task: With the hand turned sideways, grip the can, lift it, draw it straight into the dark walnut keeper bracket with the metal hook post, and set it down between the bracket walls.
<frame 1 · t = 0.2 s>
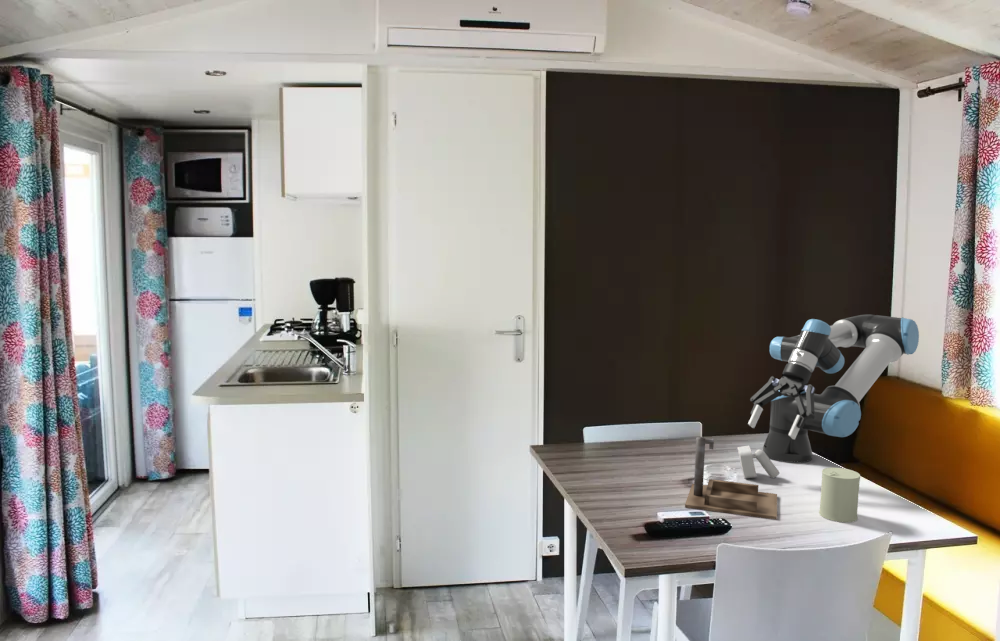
hand: (770, 431, 224), 15 cm above the table, tool tilted 35°, fingers open, 13 cm apart
can: (837, 516, 201), on the table
keeper: (733, 502, 210), on the table
wall hook: (757, 477, 232), on the table
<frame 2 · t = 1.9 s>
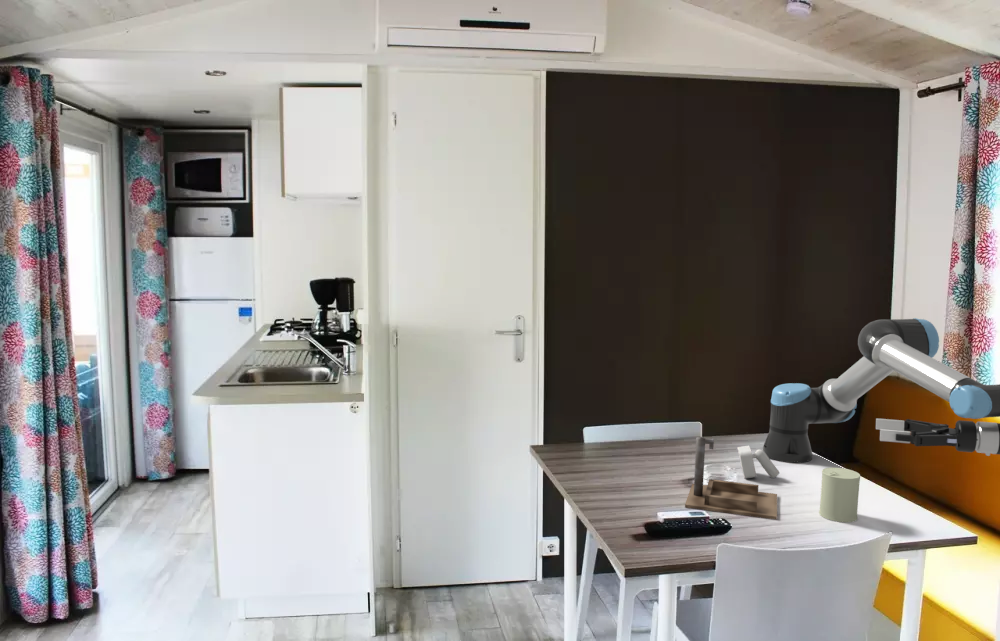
hand: (877, 429, 195), 24 cm above the table, tool horizontal, fingers open, 13 cm apart
nothing on the table moved.
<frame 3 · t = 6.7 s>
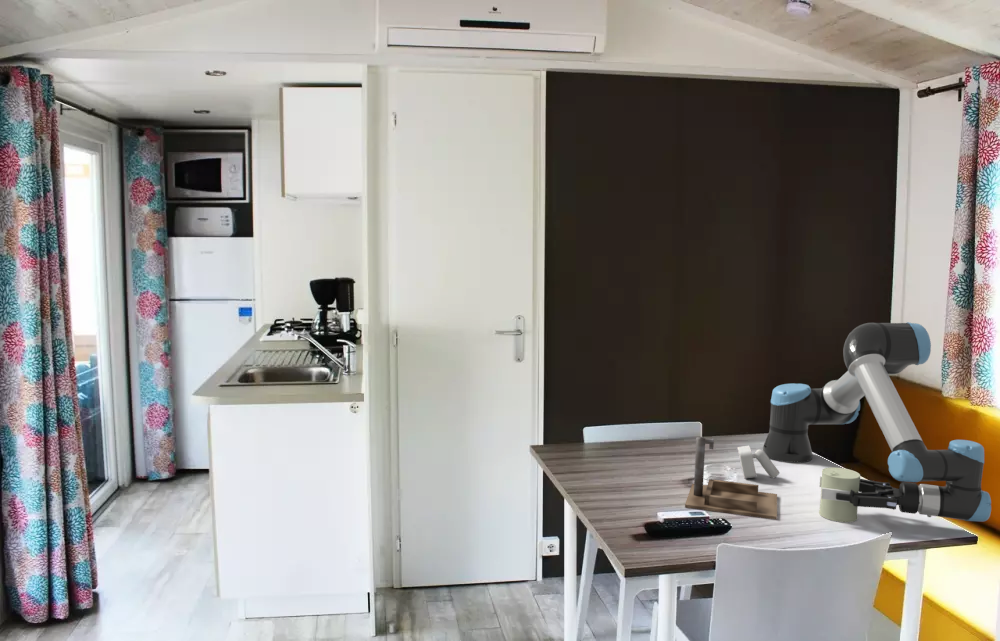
hand: (820, 487, 202), 7 cm above the table, tool horizontal, fingers closed on can, 9 cm apart
can: (837, 516, 201), on the table, touching gripper
everything else where it was.
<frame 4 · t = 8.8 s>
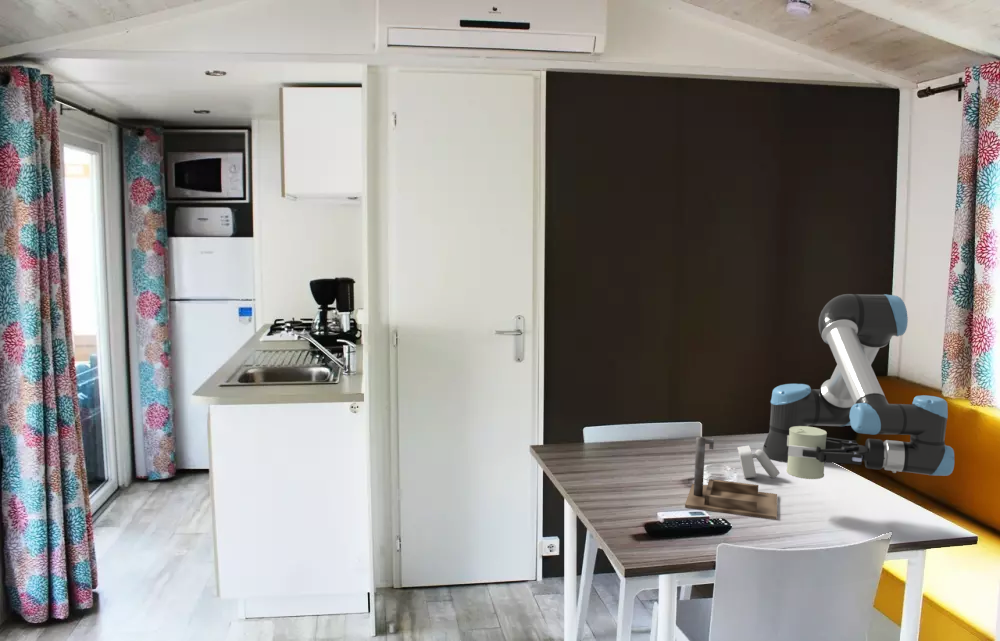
hand: (787, 445, 203), 17 cm above the table, tool horizontal, fingers closed on can, 9 cm apart
can: (805, 474, 202), point 10 cm above the table, touching gripper
everything else where it was.
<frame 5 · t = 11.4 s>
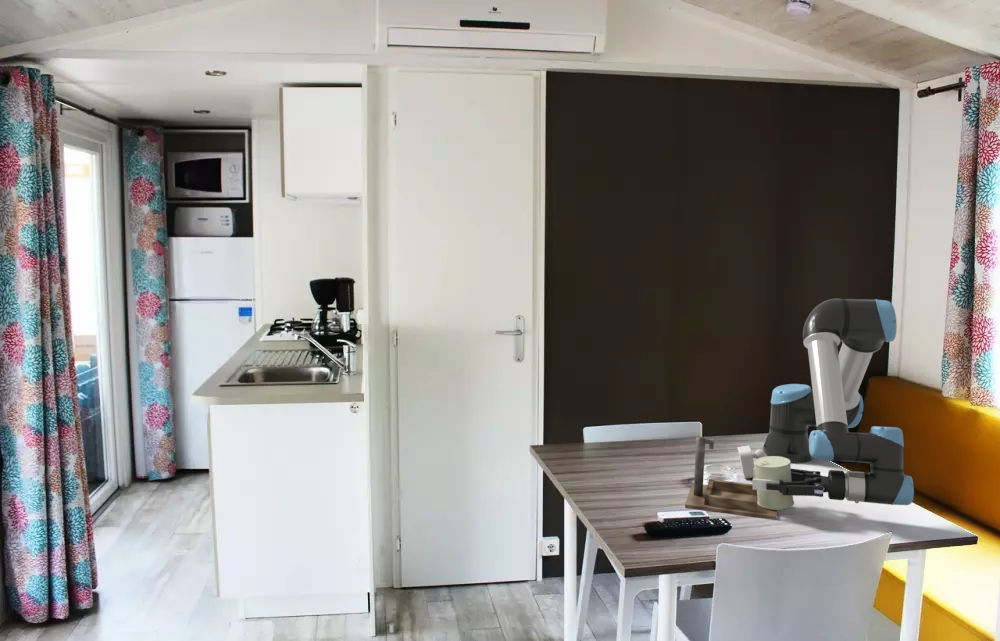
hand: (752, 478, 206), 8 cm above the table, tool horizontal, fingers closed on can, 9 cm apart
can: (775, 503, 205), point 1 cm above the table, touching gripper, keeper
everything else where it was.
when the fingers open (9 cm above the table, at t = 13.8 s): can drops 2 cm, resting on keeper.
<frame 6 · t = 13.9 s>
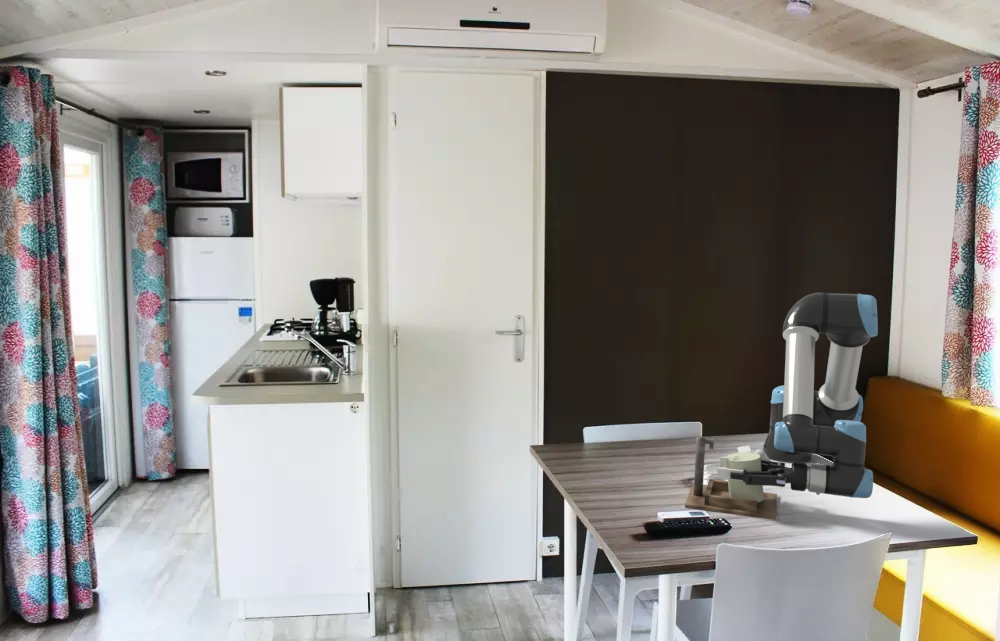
hand: (718, 467, 210), 9 cm above the table, tool horizontal, fingers open, 10 cm apart
can: (746, 499, 208), point 1 cm above the table, touching keeper
everything else where it was.
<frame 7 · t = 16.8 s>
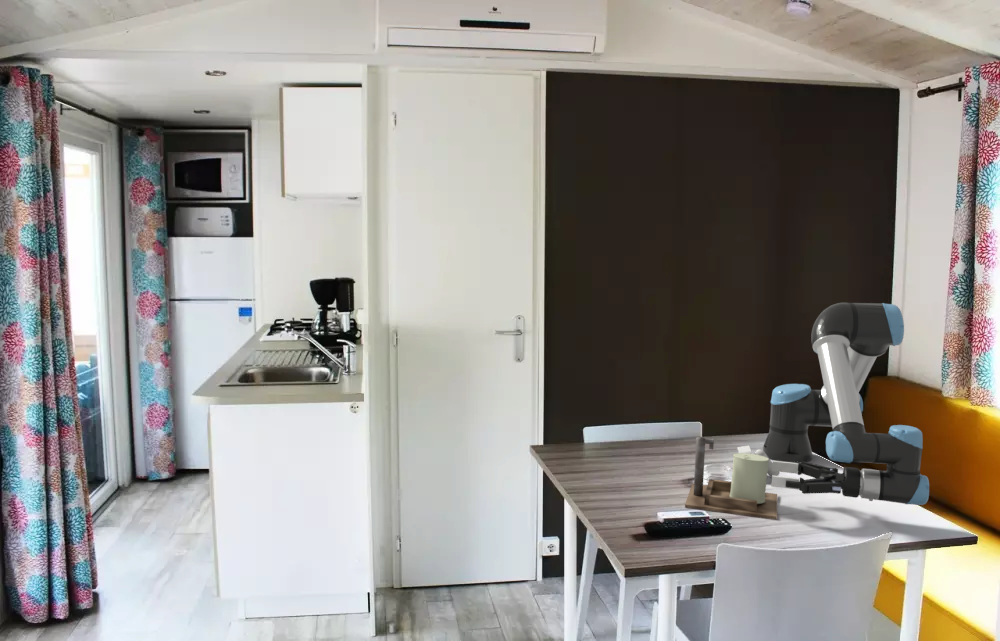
hand: (772, 473, 205), 9 cm above the table, tool horizontal, fingers open, 13 cm apart
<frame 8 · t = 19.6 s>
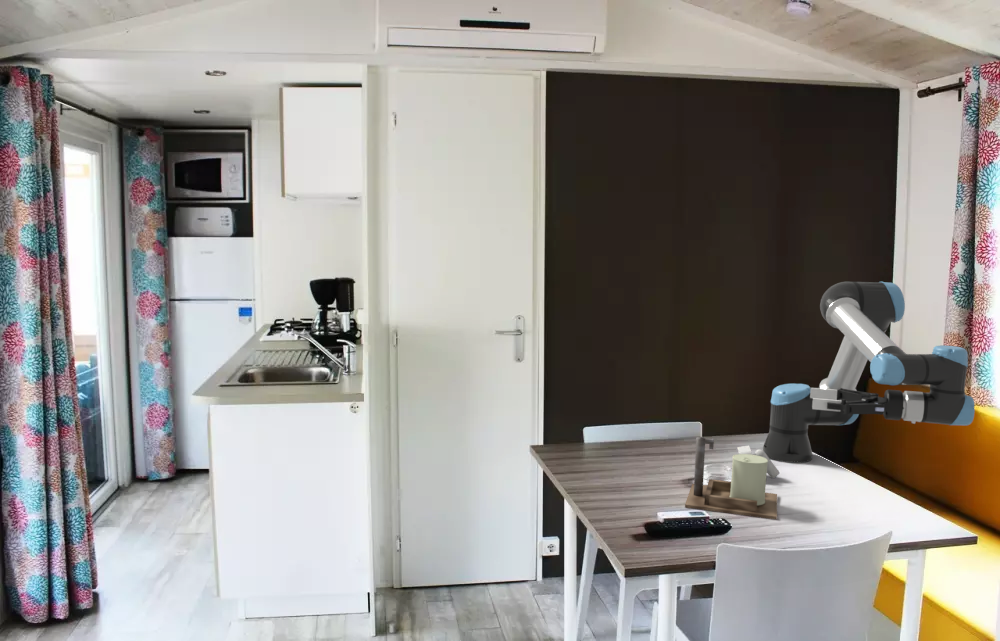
hand: (811, 398, 202), 30 cm above the table, tool horizontal, fingers open, 13 cm apart
at the end: can inside the target area on the keeper (3.4 cm from its centre), point 0.7 cm above the keeper's base; can tilted 2°; the gripper is holding nothing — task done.
